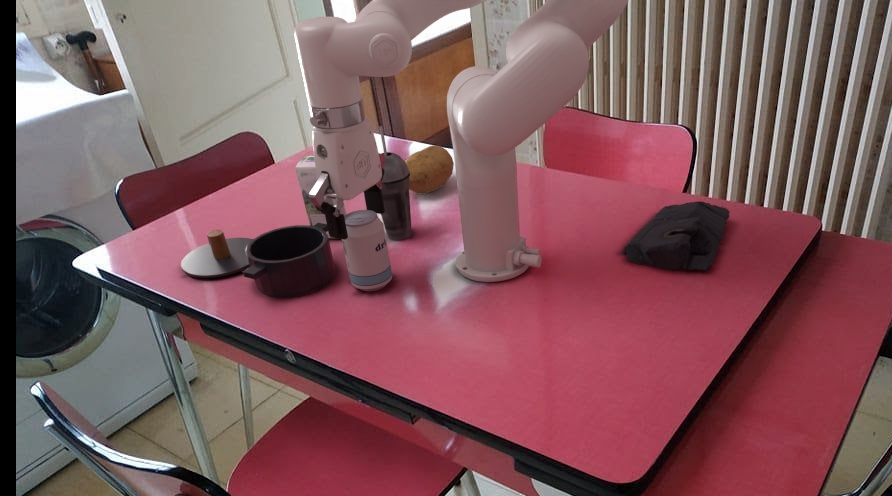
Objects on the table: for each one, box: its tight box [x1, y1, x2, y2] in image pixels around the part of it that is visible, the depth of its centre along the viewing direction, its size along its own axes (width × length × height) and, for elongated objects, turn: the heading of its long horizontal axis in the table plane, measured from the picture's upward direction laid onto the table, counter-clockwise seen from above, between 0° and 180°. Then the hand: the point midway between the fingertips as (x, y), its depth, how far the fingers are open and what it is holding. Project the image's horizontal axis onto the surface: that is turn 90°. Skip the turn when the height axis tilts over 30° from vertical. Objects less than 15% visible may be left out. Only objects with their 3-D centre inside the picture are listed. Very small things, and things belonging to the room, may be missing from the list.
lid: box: [180, 229, 254, 279], centre depth 124 cm, size 14×14×6 cm
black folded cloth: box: [621, 200, 730, 272], centre depth 118 cm, size 15×22×5 cm
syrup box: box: [294, 155, 347, 240], centre depth 127 cm, size 6×6×14 cm
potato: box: [404, 145, 455, 195], centre depth 143 cm, size 10×14×8 cm
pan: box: [242, 223, 336, 299], centre depth 116 cm, size 13×19×7 cm
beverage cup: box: [379, 125, 412, 241], centre depth 123 cm, size 7×7×20 cm
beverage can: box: [340, 209, 393, 292], centre depth 111 cm, size 7×7×12 cm
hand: (358, 224), depth 108 cm, fingers open, 9 cm apart
